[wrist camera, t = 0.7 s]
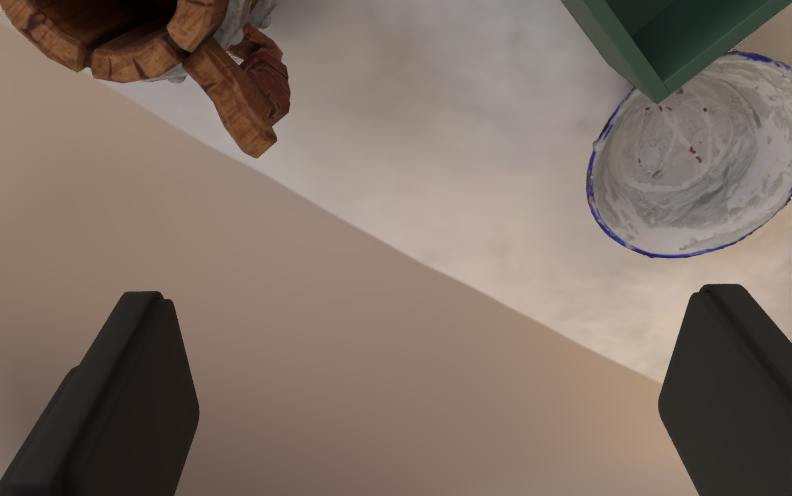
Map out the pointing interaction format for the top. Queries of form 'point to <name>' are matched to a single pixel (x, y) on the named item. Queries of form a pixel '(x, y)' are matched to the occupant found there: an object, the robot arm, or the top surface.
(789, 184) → the bowl
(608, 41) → the bin
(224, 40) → the mug
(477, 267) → the top surface
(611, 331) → the top surface
